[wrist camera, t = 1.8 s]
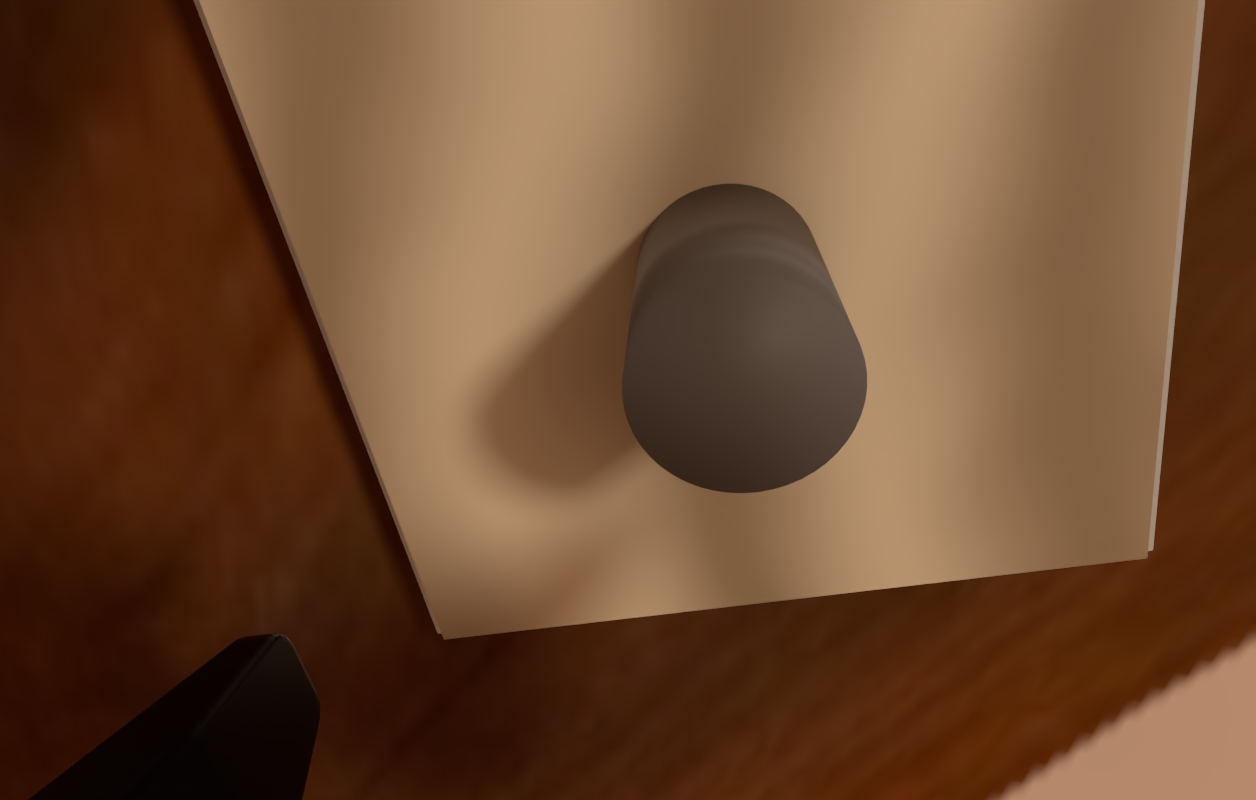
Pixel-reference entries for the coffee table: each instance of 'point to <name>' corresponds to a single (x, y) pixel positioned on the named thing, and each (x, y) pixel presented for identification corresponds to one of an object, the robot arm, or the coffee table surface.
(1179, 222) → the mat
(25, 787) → the coffee table surface
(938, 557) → the lid
